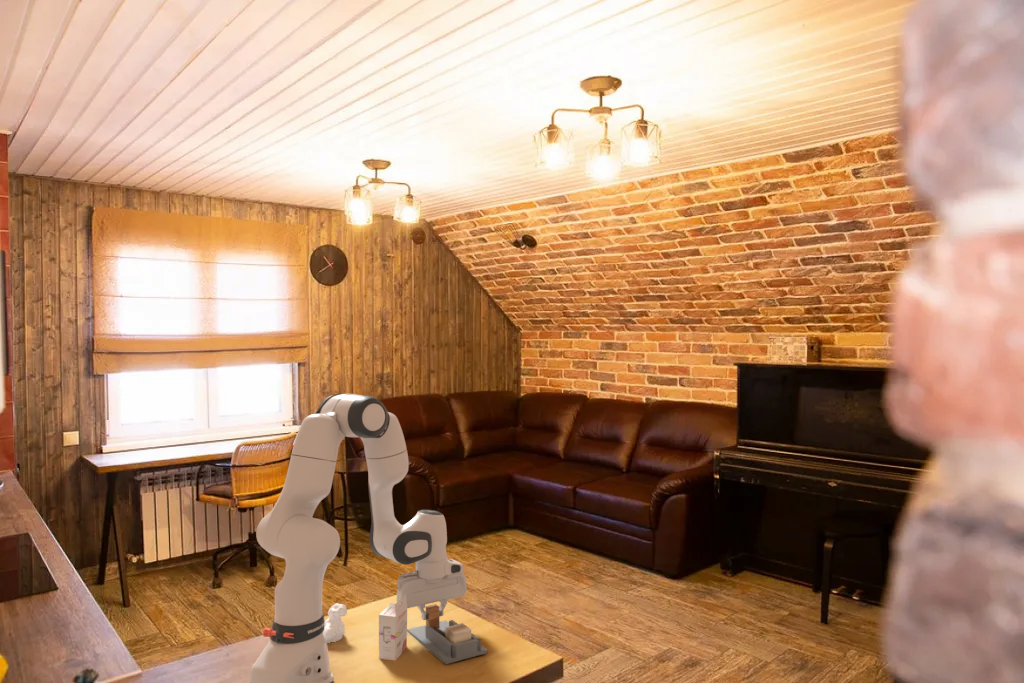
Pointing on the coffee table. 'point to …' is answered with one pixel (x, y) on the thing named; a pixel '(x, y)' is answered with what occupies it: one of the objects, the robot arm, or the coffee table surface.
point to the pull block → (452, 632)
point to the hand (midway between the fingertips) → (432, 617)
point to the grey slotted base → (447, 643)
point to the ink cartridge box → (393, 630)
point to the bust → (334, 623)
